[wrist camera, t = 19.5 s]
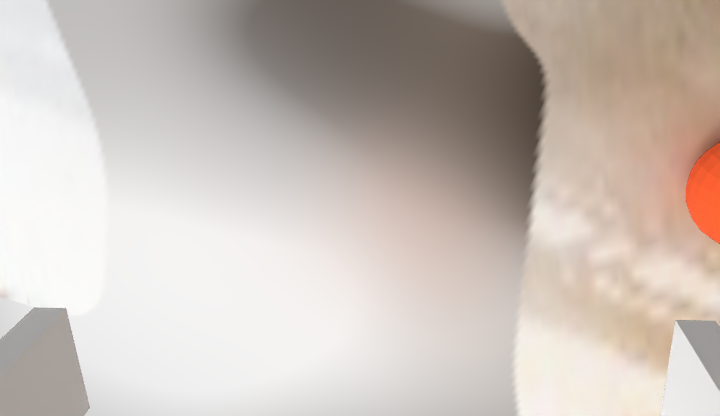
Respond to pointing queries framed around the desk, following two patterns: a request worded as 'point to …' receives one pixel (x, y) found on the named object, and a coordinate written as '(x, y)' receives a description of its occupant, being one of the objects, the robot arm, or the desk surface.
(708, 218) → the clementine
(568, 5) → the desk surface
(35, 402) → the robot arm
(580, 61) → the desk surface
